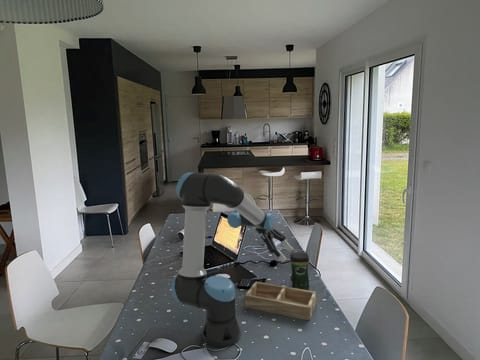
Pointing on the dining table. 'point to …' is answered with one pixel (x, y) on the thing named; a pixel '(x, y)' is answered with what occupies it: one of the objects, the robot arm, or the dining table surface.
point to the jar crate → (281, 300)
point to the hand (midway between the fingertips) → (288, 255)
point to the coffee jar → (299, 270)
